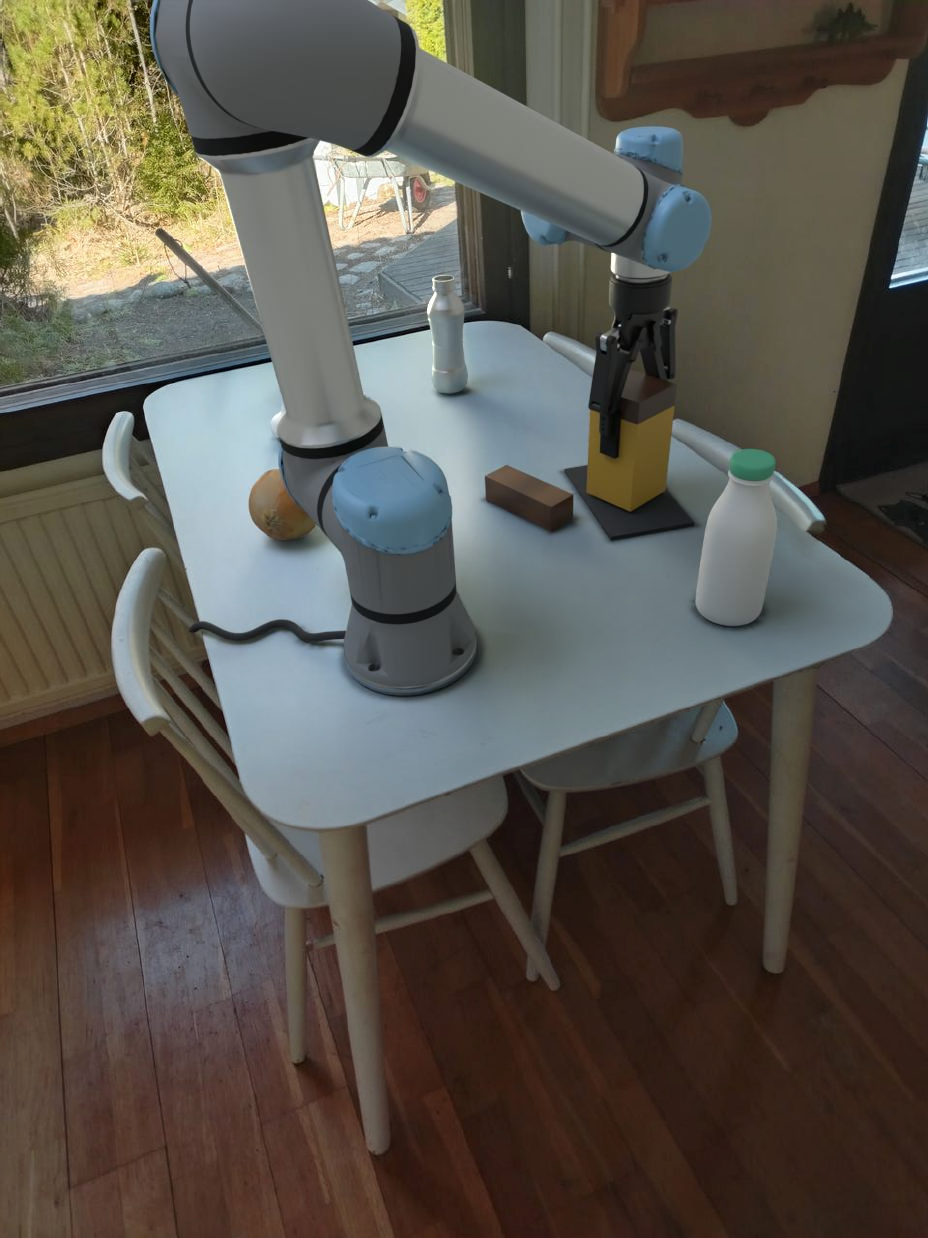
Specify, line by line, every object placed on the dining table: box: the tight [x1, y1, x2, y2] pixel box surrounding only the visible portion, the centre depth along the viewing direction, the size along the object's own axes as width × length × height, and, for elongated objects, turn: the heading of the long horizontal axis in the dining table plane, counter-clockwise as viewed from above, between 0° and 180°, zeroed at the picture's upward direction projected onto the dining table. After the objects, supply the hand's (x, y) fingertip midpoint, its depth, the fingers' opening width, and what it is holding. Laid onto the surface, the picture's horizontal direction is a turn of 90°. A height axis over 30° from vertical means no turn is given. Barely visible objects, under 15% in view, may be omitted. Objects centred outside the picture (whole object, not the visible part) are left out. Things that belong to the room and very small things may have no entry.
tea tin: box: [587, 369, 678, 512], centre depth 118 cm, size 16×8×8 cm
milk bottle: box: [694, 448, 778, 627], centre depth 96 cm, size 8×8×20 cm
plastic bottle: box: [426, 274, 469, 394], centre depth 150 cm, size 6×7×20 cm
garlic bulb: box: [270, 398, 286, 439], centre depth 143 cm, size 6×6×8 cm
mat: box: [563, 464, 695, 541], centre depth 123 cm, size 12×20×1 cm, turn 13°
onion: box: [248, 468, 317, 541], centre depth 117 cm, size 10×10×10 cm
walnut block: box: [484, 464, 575, 533], centre depth 121 cm, size 13×4×4 cm, turn 43°
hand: (629, 443), depth 118 cm, fingers closed on tea tin, 8 cm apart
